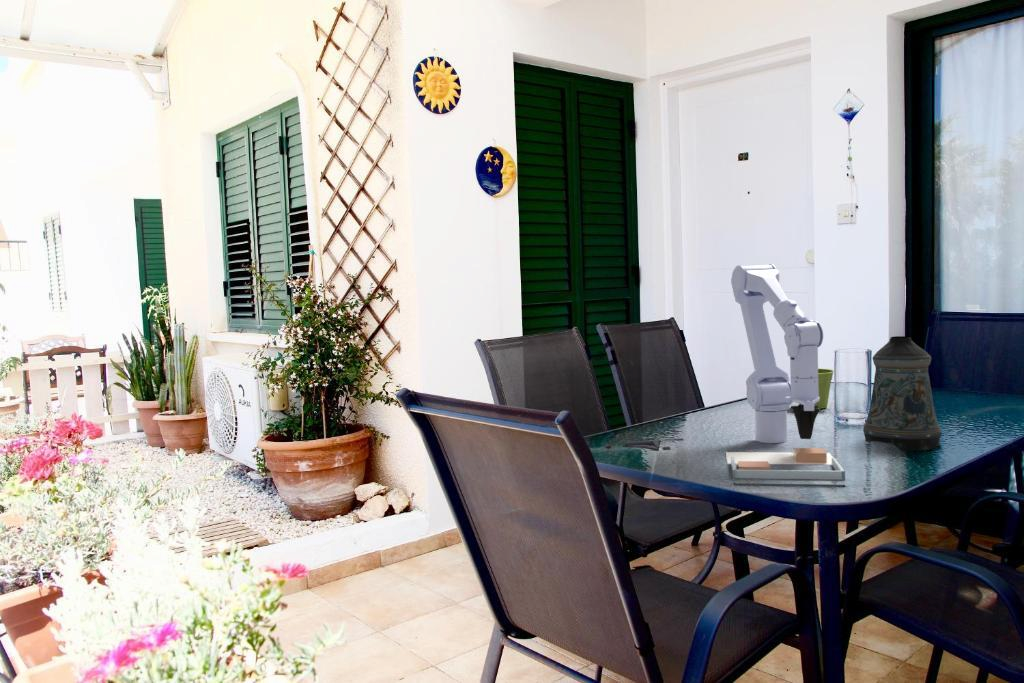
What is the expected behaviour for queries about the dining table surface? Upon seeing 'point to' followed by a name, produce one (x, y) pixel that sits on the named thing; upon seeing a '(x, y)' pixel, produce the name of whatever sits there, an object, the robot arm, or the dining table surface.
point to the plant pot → (824, 386)
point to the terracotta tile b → (810, 455)
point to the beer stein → (902, 398)
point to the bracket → (652, 442)
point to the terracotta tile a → (753, 465)
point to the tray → (790, 475)
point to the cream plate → (770, 457)
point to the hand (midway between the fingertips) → (805, 438)
